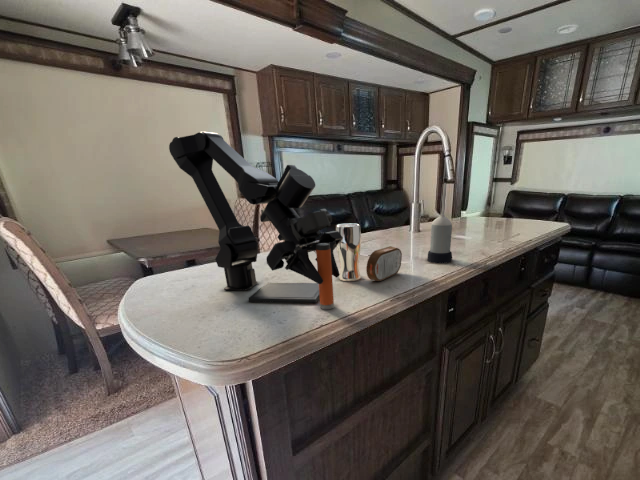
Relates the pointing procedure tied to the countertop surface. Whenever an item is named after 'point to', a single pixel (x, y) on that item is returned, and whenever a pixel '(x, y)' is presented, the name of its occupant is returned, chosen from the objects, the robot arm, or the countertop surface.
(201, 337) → the countertop surface
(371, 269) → the tin
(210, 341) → the countertop surface
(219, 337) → the countertop surface
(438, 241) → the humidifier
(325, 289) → the orange cylinder
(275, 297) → the tablet
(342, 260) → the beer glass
